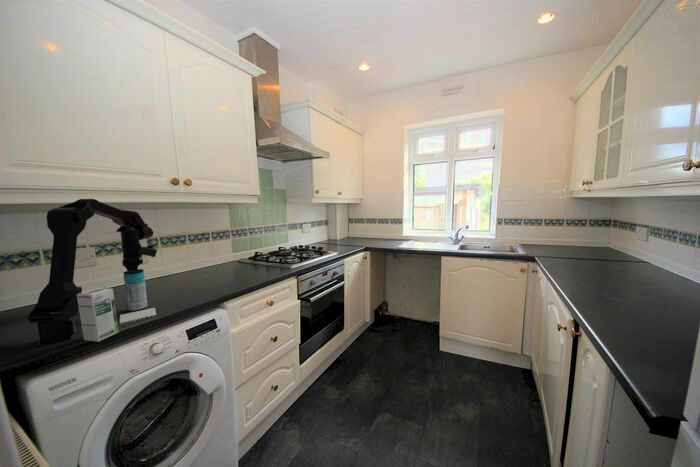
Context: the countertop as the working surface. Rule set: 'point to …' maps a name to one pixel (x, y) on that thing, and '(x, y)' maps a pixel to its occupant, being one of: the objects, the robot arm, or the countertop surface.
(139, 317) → the mat
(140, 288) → the teal labeled canister
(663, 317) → the countertop surface
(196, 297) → the countertop surface
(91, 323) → the syrup box
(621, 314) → the countertop surface
